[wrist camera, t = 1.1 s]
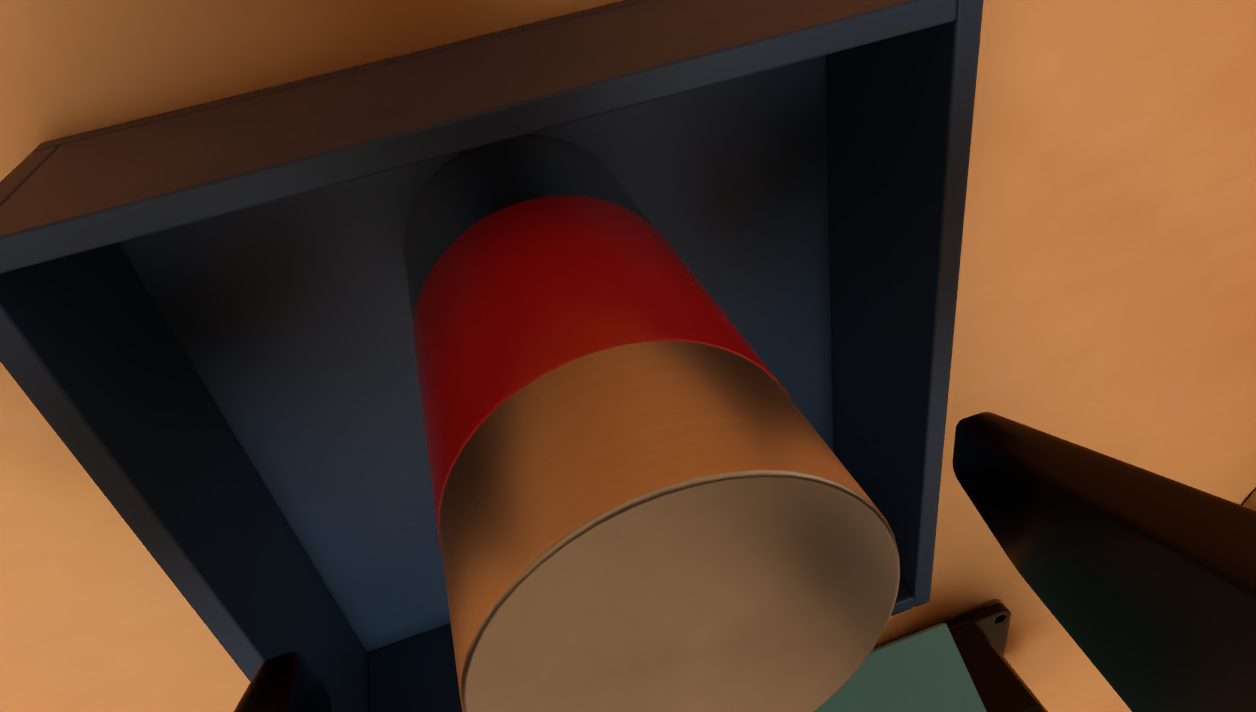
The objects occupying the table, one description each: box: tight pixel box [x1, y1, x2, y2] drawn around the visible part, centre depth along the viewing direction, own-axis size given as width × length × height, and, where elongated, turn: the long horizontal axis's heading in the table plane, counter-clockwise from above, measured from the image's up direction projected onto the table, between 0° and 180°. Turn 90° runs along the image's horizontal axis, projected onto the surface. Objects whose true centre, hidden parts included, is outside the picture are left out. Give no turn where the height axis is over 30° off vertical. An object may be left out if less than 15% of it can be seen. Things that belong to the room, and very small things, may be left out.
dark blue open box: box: [0, 0, 983, 712], centre depth 18 cm, size 16×16×5 cm
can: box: [404, 136, 900, 712], centre depth 13 cm, size 5×5×11 cm
